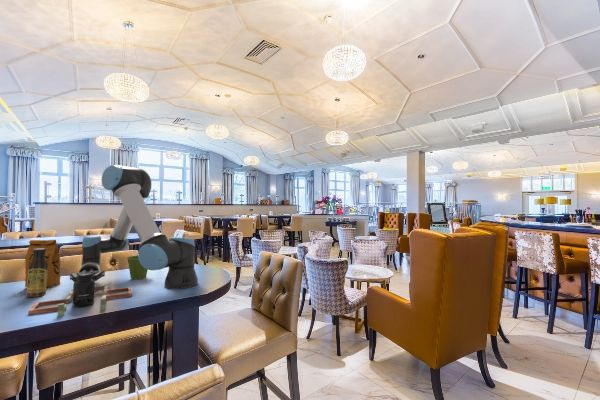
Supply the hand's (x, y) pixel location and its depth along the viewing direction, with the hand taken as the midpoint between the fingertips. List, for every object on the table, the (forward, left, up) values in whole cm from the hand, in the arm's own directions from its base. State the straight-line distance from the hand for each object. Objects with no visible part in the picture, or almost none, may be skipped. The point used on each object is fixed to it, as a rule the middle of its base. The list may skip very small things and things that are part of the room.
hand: (83, 283), depth 117 cm
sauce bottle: (+27, -5, -8) cm, 28 cm away
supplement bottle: (-2, +2, -8) cm, 8 cm away
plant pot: (+5, -39, -8) cm, 40 cm away
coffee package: (+39, -18, -8) cm, 43 cm away
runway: (+1, -3, -8) cm, 8 cm away
